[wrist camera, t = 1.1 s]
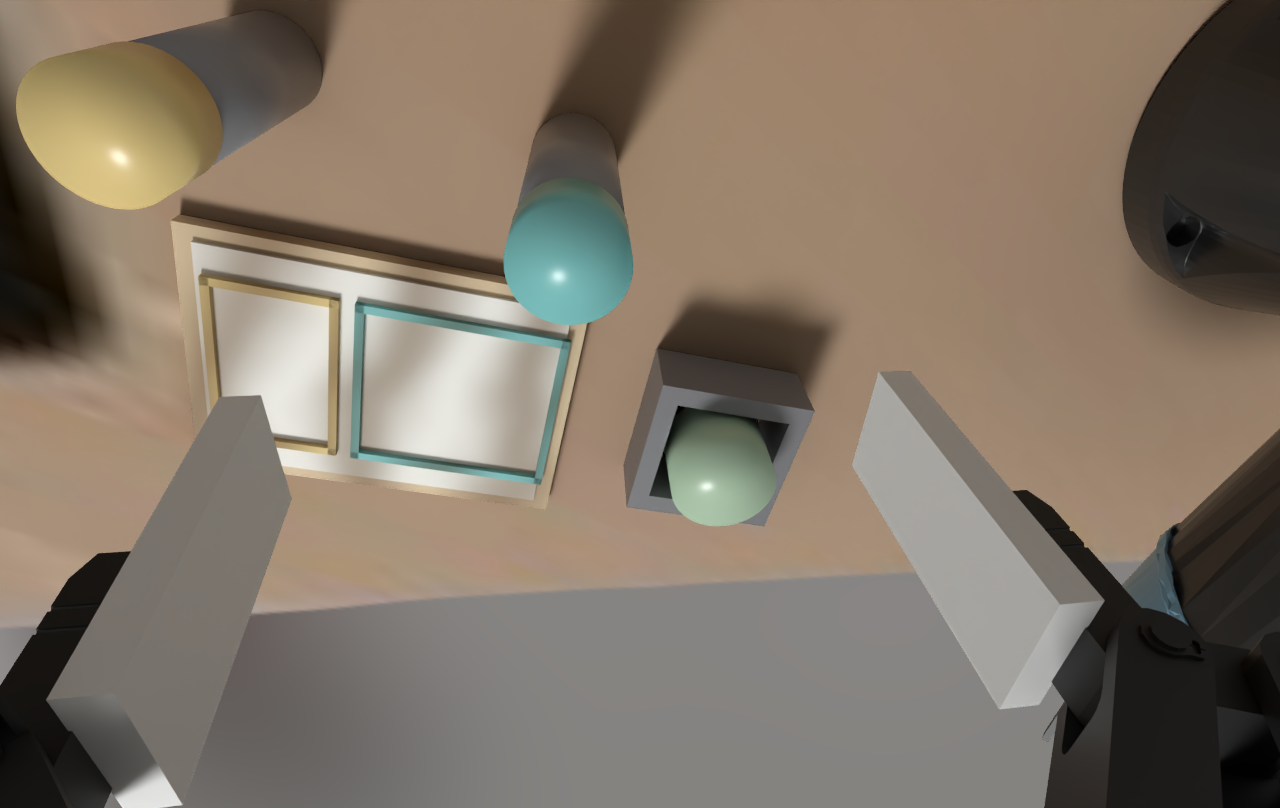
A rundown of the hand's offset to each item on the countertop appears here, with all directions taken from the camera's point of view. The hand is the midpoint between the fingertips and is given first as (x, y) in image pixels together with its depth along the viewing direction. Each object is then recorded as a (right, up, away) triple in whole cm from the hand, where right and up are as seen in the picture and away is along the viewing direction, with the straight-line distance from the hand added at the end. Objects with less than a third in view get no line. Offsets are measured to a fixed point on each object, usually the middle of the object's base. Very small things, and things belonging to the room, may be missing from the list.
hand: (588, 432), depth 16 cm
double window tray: (-11, +2, +20) cm, 23 cm away
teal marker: (-2, +11, +15) cm, 19 cm away
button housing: (+5, 0, +23) cm, 23 cm away
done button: (+5, -1, +21) cm, 22 cm away
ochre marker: (-13, +14, +12) cm, 23 cm away
